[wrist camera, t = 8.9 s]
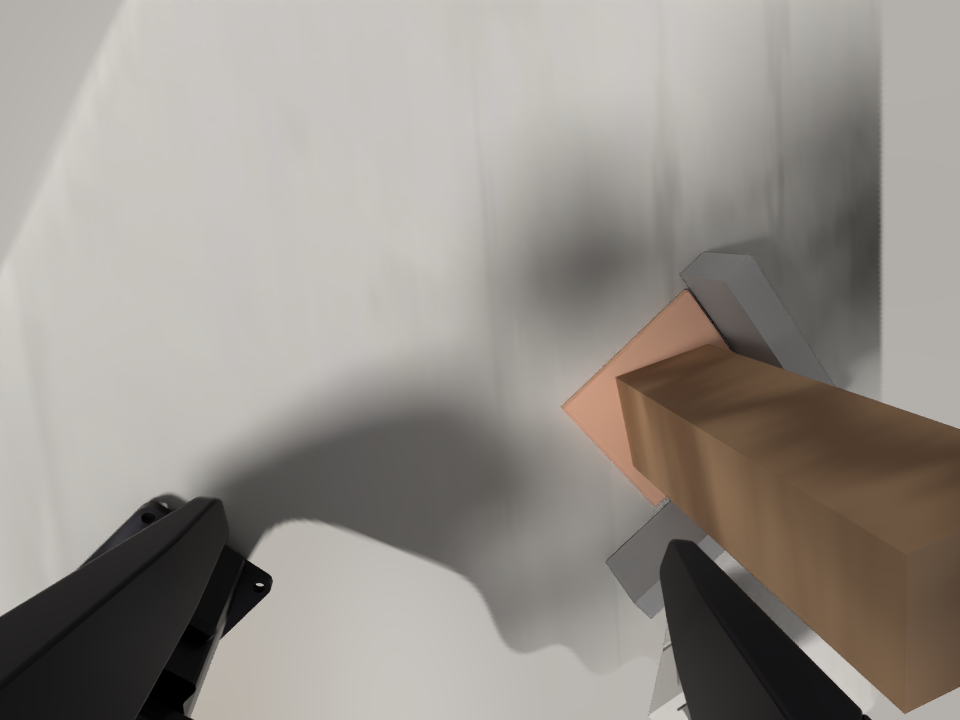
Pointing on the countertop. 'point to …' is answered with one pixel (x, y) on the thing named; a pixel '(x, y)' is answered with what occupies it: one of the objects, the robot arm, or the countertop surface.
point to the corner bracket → (750, 332)
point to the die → (668, 689)
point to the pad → (657, 341)
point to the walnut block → (816, 504)
